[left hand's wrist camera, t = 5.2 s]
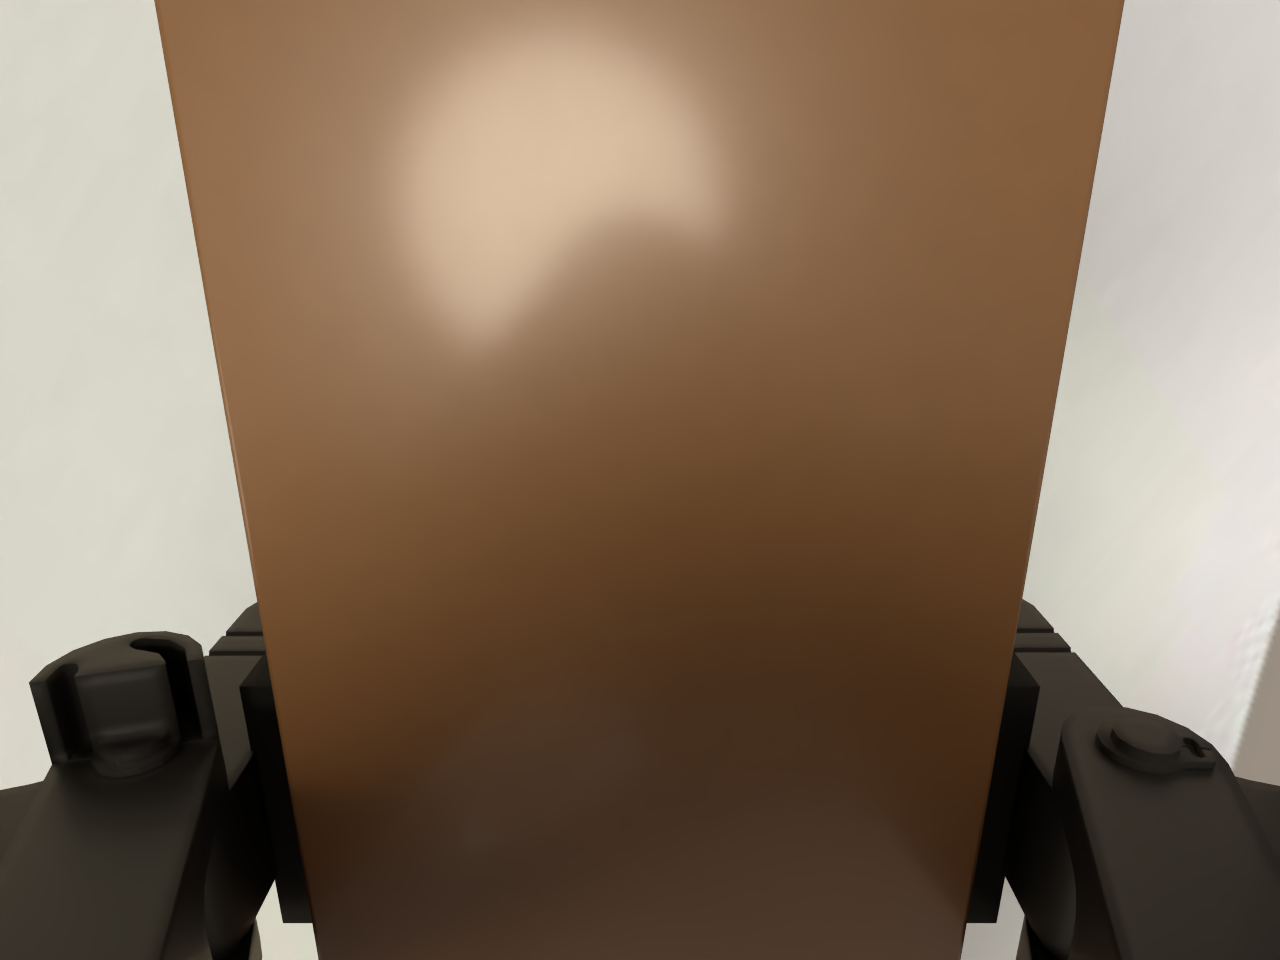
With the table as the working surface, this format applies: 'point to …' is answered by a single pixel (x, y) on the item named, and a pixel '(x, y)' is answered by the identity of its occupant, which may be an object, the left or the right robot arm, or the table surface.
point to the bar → (639, 447)
